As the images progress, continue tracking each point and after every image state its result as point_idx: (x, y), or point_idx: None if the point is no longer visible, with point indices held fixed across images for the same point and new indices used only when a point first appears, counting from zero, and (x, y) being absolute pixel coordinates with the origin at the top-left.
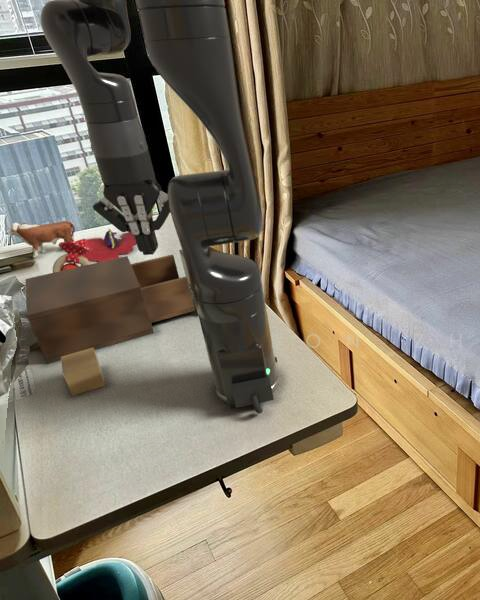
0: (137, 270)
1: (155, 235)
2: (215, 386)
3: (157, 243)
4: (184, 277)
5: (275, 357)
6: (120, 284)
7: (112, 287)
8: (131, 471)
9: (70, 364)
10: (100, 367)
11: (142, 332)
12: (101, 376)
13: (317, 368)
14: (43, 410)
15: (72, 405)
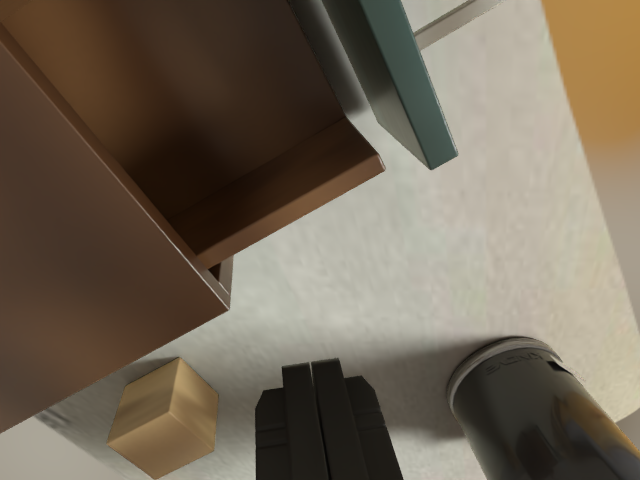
0: None
1: (395, 459)
2: (452, 409)
3: (376, 403)
4: (374, 166)
5: (583, 379)
6: (120, 291)
7: (99, 315)
8: None
9: (155, 462)
10: (188, 381)
11: None
12: (216, 415)
13: (629, 334)
14: None
15: None
